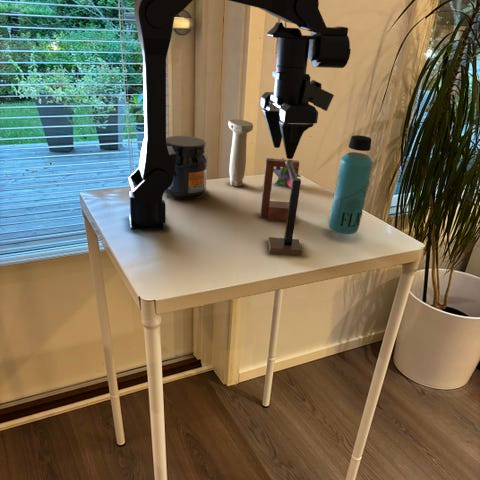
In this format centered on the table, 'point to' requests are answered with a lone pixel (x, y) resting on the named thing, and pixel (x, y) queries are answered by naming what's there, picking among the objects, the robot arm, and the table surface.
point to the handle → (238, 150)
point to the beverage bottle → (351, 187)
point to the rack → (288, 221)
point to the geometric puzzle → (283, 176)
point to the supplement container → (188, 167)
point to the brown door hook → (270, 208)
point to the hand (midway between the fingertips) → (283, 153)
